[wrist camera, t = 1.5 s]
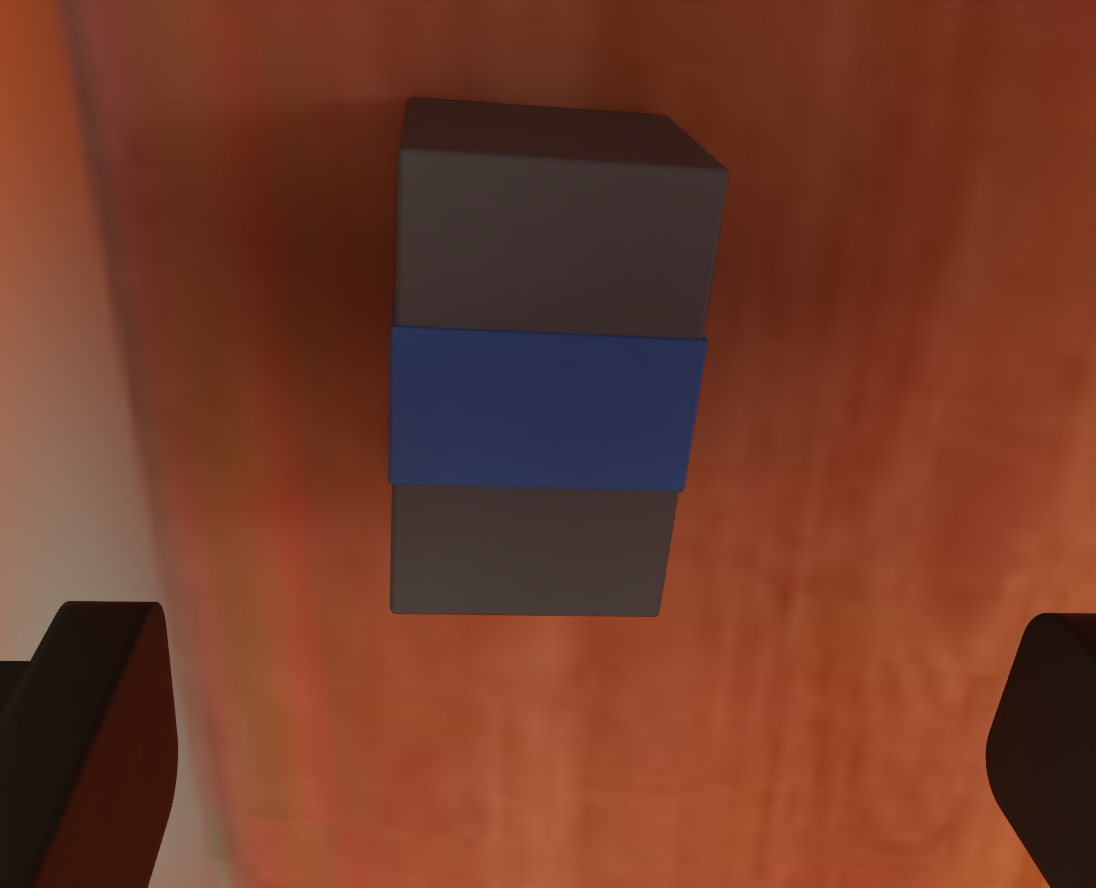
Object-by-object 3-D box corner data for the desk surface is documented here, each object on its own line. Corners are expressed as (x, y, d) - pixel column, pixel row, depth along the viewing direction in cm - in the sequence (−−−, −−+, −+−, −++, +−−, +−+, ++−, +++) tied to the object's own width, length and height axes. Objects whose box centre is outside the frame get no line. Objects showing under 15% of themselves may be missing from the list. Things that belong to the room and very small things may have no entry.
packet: (403, 95, 16) (393, 148, 13) (672, 115, 17) (737, 171, 13) (396, 485, 19) (386, 618, 16) (623, 492, 20) (664, 621, 16)
